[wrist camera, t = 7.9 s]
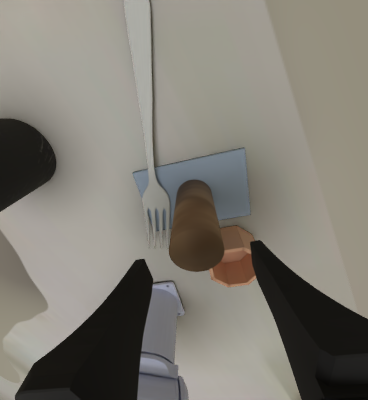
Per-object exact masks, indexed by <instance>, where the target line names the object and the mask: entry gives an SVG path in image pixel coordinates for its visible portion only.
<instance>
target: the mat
mask: <svg viewBox="0 0 368 400" xmlns="http://www.w3.org/2000/svg"><path fill="white" fill-rule="evenodd" d="M154 170H155V176H156V179H157V182H158V183H159V185H160V186H161V187H162V188H163V189H164V190H165V191H166V192H167V194H168V196H169V199H170V225H169V229H172V224H173V217H174V210H175V203H176V196H177V191H178V188H179V187H180V186H181V185H182V184H183V183H184V182H186V181H188V180H194V179H195V180H201V181H203V182H205V183H206V184H207V185H208V186H209V187H210V189H211V192H212V196H213V200H214V205H215V209H216V214H217V218H218V220H223V219H229V218H235V217H240V216H246V215H251V214H250V202H249V190H248V179H247V167H246V155H245V148H239V149H235V150H230V151H226V152H221V153H217V154H212V155H208V156H203V157H199V158H194V159H190V160H185V161H181V162H176V163H172V164H167V165H163V166H158V167H154ZM133 176H134V179H135V181H136V184H137V187H138V189H139V192H140V195H141V197H143V193H144V191H145V190H146V188H147V186H148V183H149V176H148V169H145V170H140V171H136V172H133ZM147 211H148V216H149V219H150V221H151V224H152V216H151V211H150V209H149V208H148V210H147ZM155 219H156V231H159V212H158V210H157V208H156V210H155ZM163 230H166V210H165V208H164V209H163Z"/></svg>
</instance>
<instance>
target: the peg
mask: <svg viewBox="0 0 368 400" xmlns="http://www.w3.org/2000/svg"><path fill="white" fill-rule="evenodd" d="M224 250H225V249H224V244H223V240H222V235H221V231H220V227H219V222H218V218H217V214H216V209H215V205H214V200H213V196H212V192H211V189H210V187H209V186H208V185H207V184H206V183H205V182H203V181H201V180H195V179H194V180H188V181H186V182H184V183H183V184H182V185H181V186H180V187H179V188H178V191H177V196H176V203H175V210H174V217H173V224H172V231H171V238H170V245H169V255H170V258H171V260H172V261H173V262H174V263H175V264H176V265H177V266H179V267H180V268H182V269H185V270H188V271H195V272H199V271H205V270H209V269H211V268H213V267H215V266H216V265H217V264H219V263H220V261H221V260H222V258H223V256H224Z"/></svg>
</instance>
